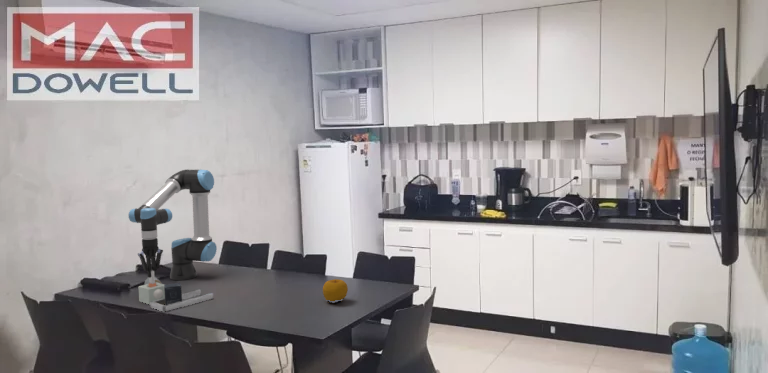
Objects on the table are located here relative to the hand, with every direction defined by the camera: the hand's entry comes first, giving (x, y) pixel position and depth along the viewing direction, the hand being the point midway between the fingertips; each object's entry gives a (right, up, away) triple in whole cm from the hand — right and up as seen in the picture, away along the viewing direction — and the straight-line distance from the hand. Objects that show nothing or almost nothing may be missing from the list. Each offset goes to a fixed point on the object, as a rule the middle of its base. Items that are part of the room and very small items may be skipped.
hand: (152, 283), depth 300 cm
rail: (+17, -10, -4) cm, 20 cm away
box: (+14, -10, -7) cm, 19 cm away
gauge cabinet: (0, -9, +1) cm, 10 cm away
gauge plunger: (0, -7, +1) cm, 7 cm away
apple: (+95, -9, -6) cm, 96 cm away
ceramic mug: (-6, -8, +20) cm, 22 cm away
